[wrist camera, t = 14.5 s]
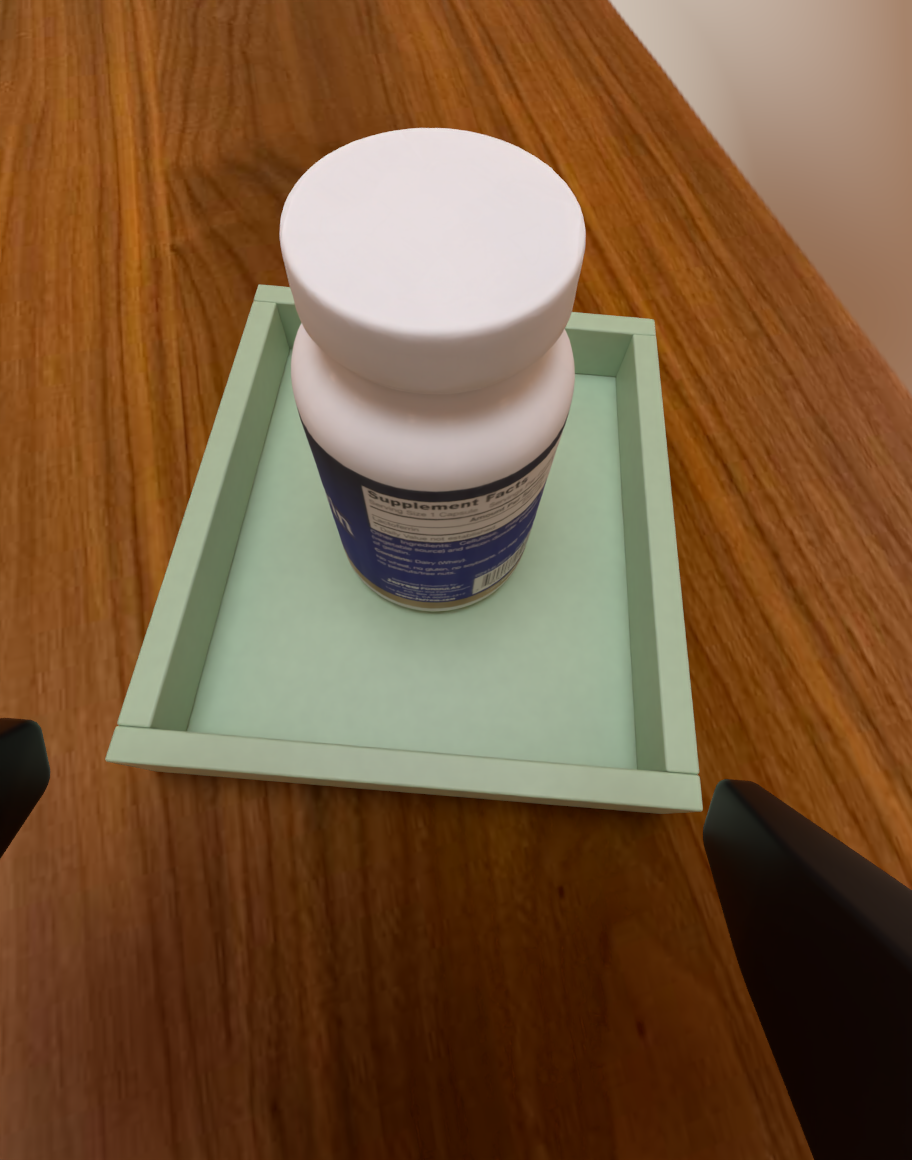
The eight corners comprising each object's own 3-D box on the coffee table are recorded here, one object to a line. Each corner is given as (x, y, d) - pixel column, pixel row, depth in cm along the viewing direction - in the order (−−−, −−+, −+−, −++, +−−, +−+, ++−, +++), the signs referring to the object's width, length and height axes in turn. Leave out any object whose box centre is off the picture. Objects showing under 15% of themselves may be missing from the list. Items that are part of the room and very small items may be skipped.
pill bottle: (344, 460, 18) (259, 102, 9) (514, 456, 19) (592, 107, 10) (340, 623, 16) (219, 358, 7) (534, 615, 16) (661, 352, 7)
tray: (662, 814, 15) (704, 811, 12) (154, 771, 15) (102, 761, 12) (630, 373, 21) (654, 318, 19) (277, 342, 21) (258, 283, 19)
